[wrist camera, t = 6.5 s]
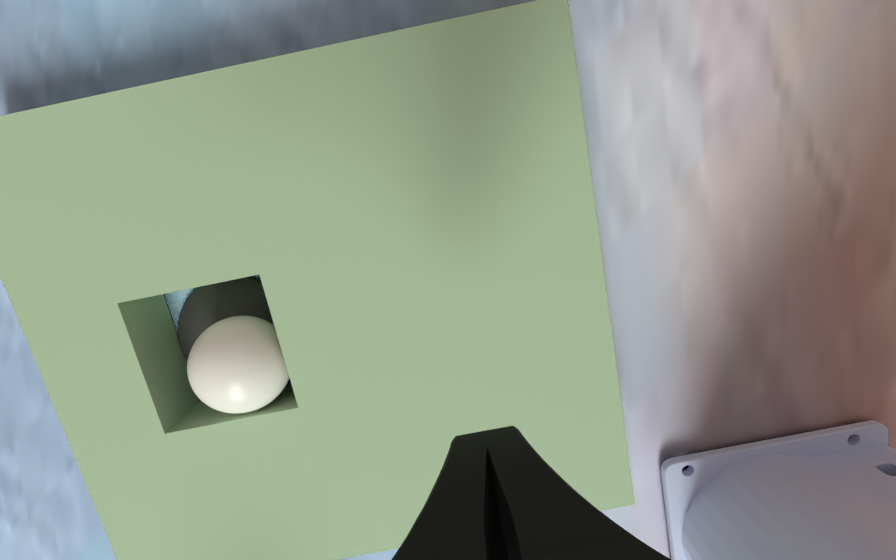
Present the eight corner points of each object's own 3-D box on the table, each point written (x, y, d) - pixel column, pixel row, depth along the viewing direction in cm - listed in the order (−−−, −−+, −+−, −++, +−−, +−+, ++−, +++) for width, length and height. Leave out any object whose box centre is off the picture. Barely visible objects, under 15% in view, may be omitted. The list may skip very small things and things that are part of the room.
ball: (154, 331, 16) (249, 285, 18) (191, 399, 18) (272, 350, 20) (197, 382, 14) (299, 323, 16) (233, 452, 16) (319, 392, 18)
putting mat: (547, 22, 16) (566, -7, 14) (611, 465, 20) (635, 504, 18) (11, 136, 17) (-61, 129, 14) (169, 548, 21) (132, 597, 18)
